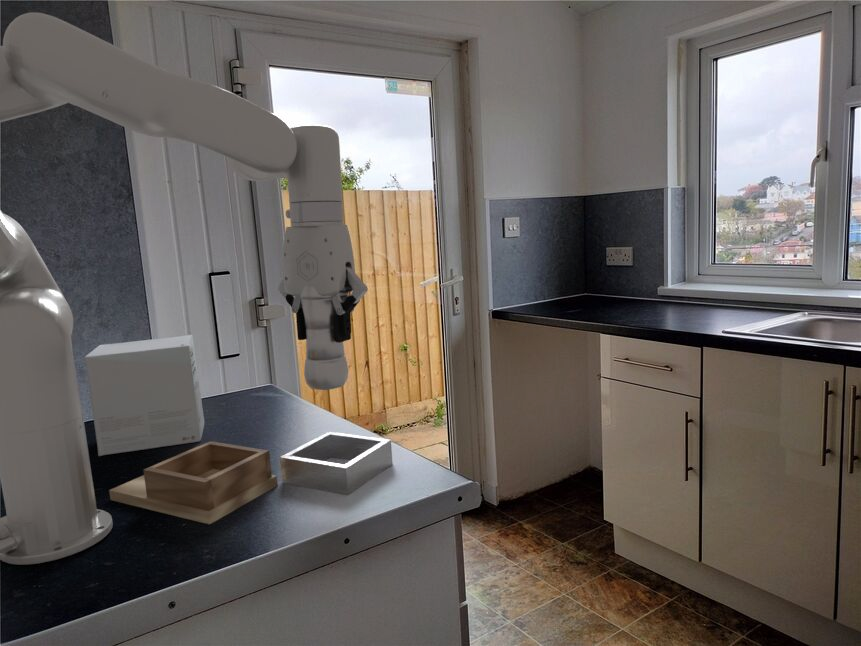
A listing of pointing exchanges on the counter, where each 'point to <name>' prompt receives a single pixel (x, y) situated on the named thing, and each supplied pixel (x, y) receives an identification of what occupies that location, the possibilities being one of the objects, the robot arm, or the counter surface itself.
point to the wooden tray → (201, 482)
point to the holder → (315, 473)
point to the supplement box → (145, 394)
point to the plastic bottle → (322, 343)
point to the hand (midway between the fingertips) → (324, 338)
